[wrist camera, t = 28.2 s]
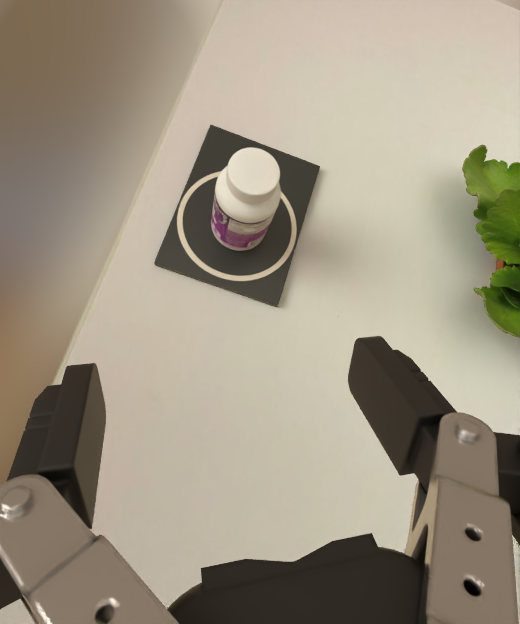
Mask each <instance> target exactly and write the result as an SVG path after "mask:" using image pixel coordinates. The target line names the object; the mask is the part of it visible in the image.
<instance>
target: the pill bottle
mask: <svg viewBox="0 0 520 624" xmlns="http://www.w3.org/2000/svg"><path fill="white" fill-rule="evenodd" d="M279 179H280V169H279V166H278V164H277V162H276V160H275V159H274V157H273V156H272V155H270V154H269V153H268V152H266V151H264V150H262V149H259V148H252V147H250V148H244V149H241V150H239V151H237V152H236V153H235V154H234V155H233V156H232V157H231V158H230V160H229V163H228V166H226V167H225V168H224V169H223V170H222V172H221V173H220V175H219V176H218V179H217V182H216V186H215V194H214V202H213V211H212V220H211V226H212V231H213V233H214V236H215V237H216V238H217V240H218V241H219V242H220V243H221V244H222V245H224V246H225V247H227V248H229V249H232V250H236V251H244V250H248V249H252V248H254V247H255V246H257V245H258V244H259V243H260V242H261V241H262V239H263V238H264V236H265V234H266V232H267V229H268V227H269V225H270V223H271V221H272V218H273V216H274V214H275V212H276V210H277V208H278V205H279V201H280V197H281V189H280V184H279Z"/></svg>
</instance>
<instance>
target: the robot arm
mask: <svg viewBox="0 0 520 624" xmlns="http://www.w3.org/2000/svg"><path fill="white" fill-rule="evenodd" d="M348 383H349V388H350V391H351V393H352V395H353V397H354V399H355V400H356V402H357V404H358V405H359V407H360V409H361V410H362V412H363V414H364V415H365V417H366V419H367V421H368V422H369V424H370V426H371V427H372V429H373V431H374V432H375V434H376V436H377V438H378V439H379V441H380V443H381V444H382V446H383V448H384V449H385V451H386V453H387V454H388V456H389V458H390V460H391V461H392V463H393V465H394V466H395V468H396V470H397V471H398V473H399V475H406V474H412V473H415V475H416V476H417V478H418V481H417V484H416V488H415V495H414V502H413V508H412V515H411V521H410V528H409V535H408V541H407V545H406V549H405V553H401V552H398V551H395V550H392V549H387V548H383V547H378V546H377V544H376V542H375V540H374V537H373V535H372V533H370V534H365V535H360V536H356V537H351V538H346V539H341V540H336V541H332V542H330V543H328V544H326V545H325V546H323V547H321V548H319V549H317V550H315V551H313V552H312V553H310V554H308V555H306V556H304V557H302V558H301V559H299V560H297V561H294V562H282V561H267V560H253V559H244V560H239V561H234V562H229V563H224V564H219V565H214V566H209V567H205V568H201V575H202V583H200V584H198V585H196V586H194V587H193V588H191V589H190V590H188V591H187V592H185V593H184V594H182V595H181V596H180V597H179V598H178V599H177V600H176V601H174V602H173V603H172V604H171V605H170V607H169V608H168V609H166V608H165V606H164V605H163V604H162V603H161V602H160V601H159V599H158V598H157V597H156V596H155V595H154V594H153V592H152V591H151V590H150V589H149V588H148V586H147V585H146V584H145V583H144V582H143V581H142V579H141V578H140V577H139V576H138V575H137V574H136V572H135V571H134V570H133V569H132V568H131V566H130V565H129V564H128V563H127V562H126V561H125V559H124V558H123V557H122V556H121V555H120V554H119V552H118V551H117V550H116V549H115V548H114V546H113V545H112V544H111V543H110V542H109V541H108V540H107V539H106V538H105V537H104V536H102V535H99V536H95V535H94V534H93V533H92V532H91V531H90V529H92V523H93V516H94V508H95V501H96V493H97V485H98V478H99V470H100V462H101V455H102V447H103V440H104V432H105V424H106V409H105V402H104V397H103V392H102V387H101V383H100V378H99V373H98V369H97V365H96V364H95V363H92V364H82V365H71V366H67V367H66V370H65V373H64V377H63V380H62V384H61V385H53V386H47V387H46V388H45V390H44V391H43V392H42V393H41V394H40V395H39V396H38V397H37V398H36V399H35V401H34V404H33V407H32V410H31V413H30V418H28V421H27V425H26V427H25V429H26V430H25V431H24V433H23V436H22V439H21V442H20V445H19V447H18V450H17V453H16V456H15V459H14V462H13V465H12V468H11V471H10V473H9V476H8V479H7V481H6V482H5V483H3V484H2V485H0V609H1V608H3V607H5V606H7V605H9V604H11V603H12V602H14V601H16V600H18V599H21V601H22V602H23V604H24V606H25V607H26V609H27V611H28V612H29V614H30V615H31V617H32V619H33V620H34V622H35V624H519V622H518V608H517V594H516V581H515V567H514V553H513V540H512V535H513V536H514V538H515V539H516V541H517V542H518V543H519V545H520V435H512V434H504V433H496V432H493V431H492V430H491V429H490V427H489V426H488V425H486V424H485V423H484V422H483V421H481V420H479V419H478V418H476V417H474V416H471V415H468V414H465V413H457V412H456V410H455V409H454V408H453V407H452V406H451V405H450V403H449V402H448V401H447V400H446V399H445V398H444V396H443V395H442V394H441V393H440V392H439V391H438V389H437V388H436V387H435V386H434V385H433V384H432V382H431V381H428V378H427V377H426V375H425V374H424V373H423V372H421V370H420V368H419V367H418V366H417V365H416V364H415V363H414V361H413V360H412V359H411V358H409V357H408V356H406V355H405V354H403V353H402V352H400V351H399V350H392V348H391V347H390V346H389V345H388V343H387V342H386V341H385V340H384V339H383V338H382V337H381V336H375V337H365V338H358V339H356V341H355V344H354V349H353V354H352V359H351V364H350V369H349V374H348Z"/></svg>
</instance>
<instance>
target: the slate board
mask: <svg viewBox="0 0 520 624" xmlns="http://www.w3.org/2000/svg"><path fill="white" fill-rule="evenodd" d="M250 147H252V148H259V149H262V150H264V151H266V152H268V153H269V154H270V155H272V156H273V157H274V159H275V160H276V162H277V164H278V166H279V169H280V179H279V184H280V189H281V197H280V201H279V205H278V208H277V210H276V212H275V214H274V216H273V218H272V221H271V223H270V225H269V227H268V229H267V232H266V234H265V236H264V238H263V239H262V241H261V242H260V243H259V244H258V245H257V246H255V247H254V248H252V249H248V250H244V251H236V250H232V249H229V248H227V247H225V246H224V245H222V244H221V243H220V242H219V241H218V240H217V238H216V237H215V236H214V233H213V231H212V226H211V220H212V211H213V202H214V194H215V186H216V182H217V179H218V176H219V175H220V173H221V172H222V170H223V169H224V168H225V167H226V166H228V163H229V160H230V158H231V157H232V156H233V155H234V154H235V153H236V152H237V151H239V150H241V149H244V148H250ZM319 168H320V166H318V165H315V164H312V163H310V162H307V161H305V160H302V159H299V158H297V157H294V156H292V155H289V154H286V153H284V152H281V151H278V150H276V149H273V148H271V147H268V146H265V145H263V144H260V143H257V142H255V141H252V140H250V139H247V138H244V137H242V136H239V135H237V134H234V133H231V132H229V131H226V130H223V129H221V128H218V127H216V126H213V125H210V128H209V130H208V132H207V135H206V137H205V140H204V142H203V145H202V147H201V150H200V152H199V155H198V157H197V159H196V162H195V164H194V167H193V169H192V172H191V174H190V177H189V179H188V181H187V184H186V186H185V189H184V191H183V194H182V196H181V199H180V201H179V203H178V206H177V208H176V211H175V213H174V216H173V218H172V221H171V223H170V225H169V228H168V230H167V233H166V235H165V238H164V240H163V243H162V245H161V247H160V250H159V252H158V255H157V257H156V260H155V262H154V263H155V265H157V266H160V267H162V268H165V269H168V270H171V271H174V272H177V273H180V274H183V275H186V276H188V277H191V278H194V279H197V280H200V281H203V282H206V283H209V284H212V285H215V286H217V287H220V288H223V289H226V290H229V291H232V292H235V293H238V294H241V295H243V296H246V297H249V298H252V299H255V300H258V301H261V302H264V303H267V304H270V305H272V306H275V307H277V306H278V303H279V300H280V297H281V293H282V290H283V287H284V283H285V280H286V277H287V274H288V270H289V267H290V264H291V260H292V257H293V254H294V250H295V247H296V244H297V240H298V237H299V234H300V231H301V227H302V224H303V221H304V217H305V214H306V211H307V207H308V204H309V201H310V197H311V194H312V191H313V188H314V184H315V181H316V178H317V174H318V171H319Z"/></svg>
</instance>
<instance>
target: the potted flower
mask: <svg viewBox="0 0 520 624" xmlns="http://www.w3.org/2000/svg"><path fill="white" fill-rule="evenodd" d="M486 153H487V149H486V146H485V145H481V146H479V147H477V148H475V149H474V150H472V151H471V153H470V154H469V157H468V158H466V159H465V161H464V164H463V168H462V170H463V172H464V177H465V179H466V184H467V188H466V191H467V192H468V193H469V194H471V195H473V196H477V197H478V207H477V208H478V209H476V210H475V211H474V212H473V213H474V216H475V217H476V218H478V219H482V220H483V221H482V222H480V223H478V224H477V225H476V231H477V232H478V233H479V234H481V235H482V241H484V243H487V246H486V249H487V250H488V251H490V252H491V254H493V255H495V259H498V261H497V267H496V270H497V271H496V273H492V278H490V280H491V283H490V288H487V287H482V289H479V288H478V289H477V288H475V289H474V291H475V292H476V293H477V294H479V295H480V296H482V297H484V299H485V300H484V306H485V308H486V313H487V315H488V316H489V318H490V319H491V320H492V321H493V323H494V324H495V325H496V326H497V327H499V328H500V329H501V330H503V331H504V332H505V333H509V334H511V335H513V336H516V337H520V163H518V162H516V163H512V164H511V165H510V166H509V169H507V163H506V162H504V161H500V162H498V161H497V160H495V159H494V160H489V161H485V162H484V160H485V158H486V155H485V154H486Z"/></svg>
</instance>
